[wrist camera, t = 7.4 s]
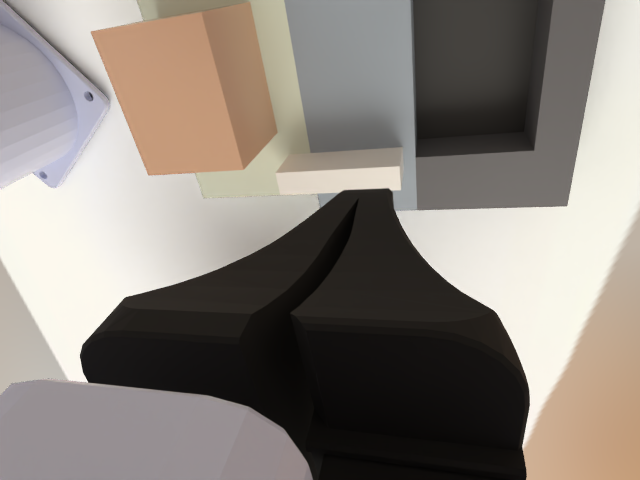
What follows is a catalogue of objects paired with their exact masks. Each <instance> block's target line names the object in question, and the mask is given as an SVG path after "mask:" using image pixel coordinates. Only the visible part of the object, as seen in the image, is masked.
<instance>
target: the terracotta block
mask: <svg viewBox="0 0 640 480" xmlns="http://www.w3.org/2000/svg"><path fill="white" fill-rule="evenodd" d="M91 34H92V36H93V39H94V41H95V44H96V46H97V49H98V51H99V54H100V56H101V59H102V61H103V64H104V66H105V69H106V71H107V74H108V76H109V79H110V81H111V84H112V86H113V89H114V91H115V94H116V96H117V99H118V101H119V104H120V106H121V108H122V111H123V113H124V116H125V118H126V121H127V123H128V126H129V128H130V131H131V133H132V136H133V138H134V141H135V143H136V146H137V148H138V151H139V153H140V156H141V158H142V161H143V163H144V166H145V168H146V171H147V173H148V175H165V174H182V173H199V172H217V171H234V170H244V169H245V168H246V167H247V166H248V165H249V163H250V162H251V161H252V160H253V159H254V158H255V157H256V156H257V155H258V154H259V153H260V151H261V150H262V149H263V148H264V147H265V146H266V145H267V144H268V143H269V142H270V140H271V139H272V138H273V137H274V136H275V135H276V134H277V133H278V132H277V127H276V122H275V118H274V113H273V108H272V103H271V99H270V94H269V89H268V84H267V80H266V75H265V70H264V66H263V61H262V56H261V51H260V47H259V42H258V37H257V32H256V28H255V23H254V18H253V13H252V9H251V4H250V2H246V3H241V4H235V5H229V6H224V7H218V8H212V9H207V10H201V11H195V12H190V13H184V14H178V15H173V16H167V17H161V18H156V19H151V20H146V21H141V22H136V23H131V24H126V25H121V26H116V27H111V28H106V29H101V30H97V31H92V32H91Z"/></svg>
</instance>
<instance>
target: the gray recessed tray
mask: <svg viewBox="0 0 640 480" xmlns="http://www.w3.org/2000/svg"><path fill="white" fill-rule="evenodd" d="M284 2H285V8H286V14H287V20H288V26H289V32H290V37H291V43H292V49H293V55H294V60H295V66H296V72H297V77H298V83H299V89H300V95H301V101H302V106H303V112H304V118H305V124H306V130H307V135H308V141H309V147H310V153H320V152H335V151H350V150H365V149H380V148H395V147H403V162H404V172H403V179H402V186H401V190H395V191H392V192H393V201H394V210H395V211H401V210H440V209H478V208H517V207H556V206H567V204H568V199H569V194H570V188H571V183H572V177H573V172H574V167H575V161H576V156H577V150H578V145H579V139H580V134H581V129H582V123H583V118H584V112H585V107H586V102H587V96H588V91H589V85H590V80H591V75H592V69H593V64H594V58H595V53H596V48H597V42H598V37H599V31H600V26H601V21H602V15H603V10H604V4H605V0H284ZM337 194H339V193H318V199H319V205H320V208H321V207H323V206H324V205H325V204H326V203H327V202H329V201H330V200H331V199H332V198H334V197H335V196H336V195H337Z"/></svg>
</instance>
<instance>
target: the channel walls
mask: <svg viewBox="0 0 640 480" xmlns="http://www.w3.org/2000/svg"><path fill="white" fill-rule="evenodd" d="M403 172H404V162H403V147H395V148H380V149H365V150H350V151H335V152H320V153H305V154H290V155H288V157H287V158H286V159H285V161H284V162H283V163H282V165H281V166H280V167H279V169H278V170H277V171H276V173H275V174H276V178H277V183H278V187H279V192H280V195H293V194H318V193H340V192H341V191H343V190H357V189H381V188H389V189H390V190H391V191H395V190H401V186H402V179H403Z"/></svg>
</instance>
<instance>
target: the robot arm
mask: <svg viewBox="0 0 640 480" xmlns="http://www.w3.org/2000/svg"><path fill="white" fill-rule="evenodd" d="M89 92H90V93H91V94H92V95H93V98H91V96H90V94H89ZM109 108H110V103H109V100H108V98H107V97H106V96H105V95H104V94H103V93H102V92H101V91H100V90H99V89H97V88H96V87H95V86H94V85H93V84H92V83H91V82H90V81H89V80H88V79H87V78H86V77H85V76H83V75H82V74H81V73H80V72H79V71H78V70H77V69H76V68H75V67H74V66H73V65H72V64H71V63H69V62H68V61H67V60H66V59H65V58H64V57H63V56H62V55H61V54H60V53H59V52H58V51H56V50H55V49H54V48H53V47H52V46H51V45H50V44H49V43H48V42H47V41H46V40H45V39H44V38H42V37H41V36H40V35H39V34H38V33H37V32H36V31H35V30H34V29H33V28H32V27H31V26H29V25H28V24H27V23H26V22H25V21H24V20H23V19H22V18H21V17H20V16H19V15H18V14H17V13H15V12H14V11H13V10H12V9H11V8H10V7H9V6H8V5H7V4H6V3H5V2H4V1H3V0H0V189H2V188H4V187H6V186H8V185H10V184H12V183H14V182H16V181H18V180H19V179H21V178H23V177H25V176H27V175H29V174H31V173H33V174H34V175H36V176H37V177H38V178H39V179H41V180H42V181H43V182H44V183H45V184H47V185H48V186H49V187H52V188H57V187H59V186H60V185H61V184H62V183H63V181H64V180H65V178H66V177H67V175H68V173H69V172H70V170H71V169H72V167H73V165H74V164H75V162H76V161H77V159H78V158H79V156H80V154H81V153H82V151H83V150H84V148H85V146H86V145H87V143H88V142H89V140H90V139H91V137H92V135H93V134H94V132H95V131H96V129H97V127H98V126H99V124H100V123H101V121H102V120H103V118H104V116H105V115H106V113H107V112H108V110H109ZM80 359H81V364H82V369H83V373H84V375H85V377H86V379H87V381H88V383H86V382H77V381H67V380H58V379H40V380H33V381H26V382H19V383H13V384H11V385H10V386H9V387H8V388H7V389H6V390H5V391H4V392H3V393H2V394H1V395H0V480H526V477H527V476H526V467H525V461H524V455H523V450H522V444H523V439H524V433H525V428H526V423H527V417H528V412H529V406H530V397H529V387H528V383H527V379H526V376H525V373H524V370H523V367H522V365H521V362H520V360H519V357H518V355H517V352H516V350H515V348H514V346H513V343H512V341H511V339H510V337H509V335H508V333H507V331H506V330H505V328H504V326H503V324H502V322H501V320H500V318H499V317H498V315H497V313H496V312H495V311H493V310H492V309H490V308H489V307H487V306H485V305H483V304H482V303H480V302H478V301H476V300H475V299H473V298H471V297H469V296H468V295H466V294H464V293H462V292H461V291H459V290H458V289H457V288H455V287H454V286H453V285H451V284H450V283H448V282H447V281H446V280H445V279H444V278H443V277H442V276H441V275H440V274H438V273H437V272H436V271H435V270H434V269H433V268H432V267H431V266H430V265H429V264H428V263H427V262H426V261H425V259H424V258H423V257H422V256H421V255H420V253H419V252H418V251H417V250H416V248H415V247H414V246H413V244H412V243H411V241H410V240H409V238H408V236H407V235H406V233H405V231H404V230H403V228H402V226H401V224H400V222H399V219H398V217H397V215H396V212H395V210H394V201H393V192H392V191H391V190H390V189H389V188H381V189H357V190H343V191H341V192H340V193H339V194H337V195H336V196H335V197H334V198H332V199H331V200H330V201H329V202H327V203H326V204H325V205H324V206H323V207H321V208H320V209H319V210H317V211H316V212H315V213H314V214H312V215H311V216H310V217H309V218H307V219H306V220H305V221H303V222H302V223H301V224H299V225H298V226H296V227H295V228H294V229H292V230H291V231H289V232H288V233H287V234H285V235H284V236H282V237H281V238H279V239H277V240H276V241H274V242H273V243H271V244H269V245H267V246H266V247H264V248H262V249H260V250H258V251H257V252H255V253H253V254H251V255H249V256H247V257H244V258H242V259H240V260H238V261H236V262H233V263H231V264H229V265H227V266H225V267H222V268H220V269H218V270H215V271H213V272H210V273H207V274H205V275H202V276H199V277H196V278H193V279H190V280H187V281H184V282H181V283H178V284H175V285H171V286H168V287H164V288H160V289H156V290H152V291H149V292H145V293H141V294H137V295H133V296H129V297H126V298H124V299H123V301H122V302H121V303H120V304H119V305H118V306H117V307H116V308H115V309H114V311H113V312H112V313H111V314H110V315H109V316H108V317H107V318H106V319H105V321H104V322H103V323H102V324H101V325H100V326H99V327H98V328H97V329H96V331H95V332H94V333H93V334H92V335H91V336H90V337H89V338H88V339H87V341H86V342H85V343H84V344H83V346H82V350H81V354H80Z"/></svg>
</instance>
